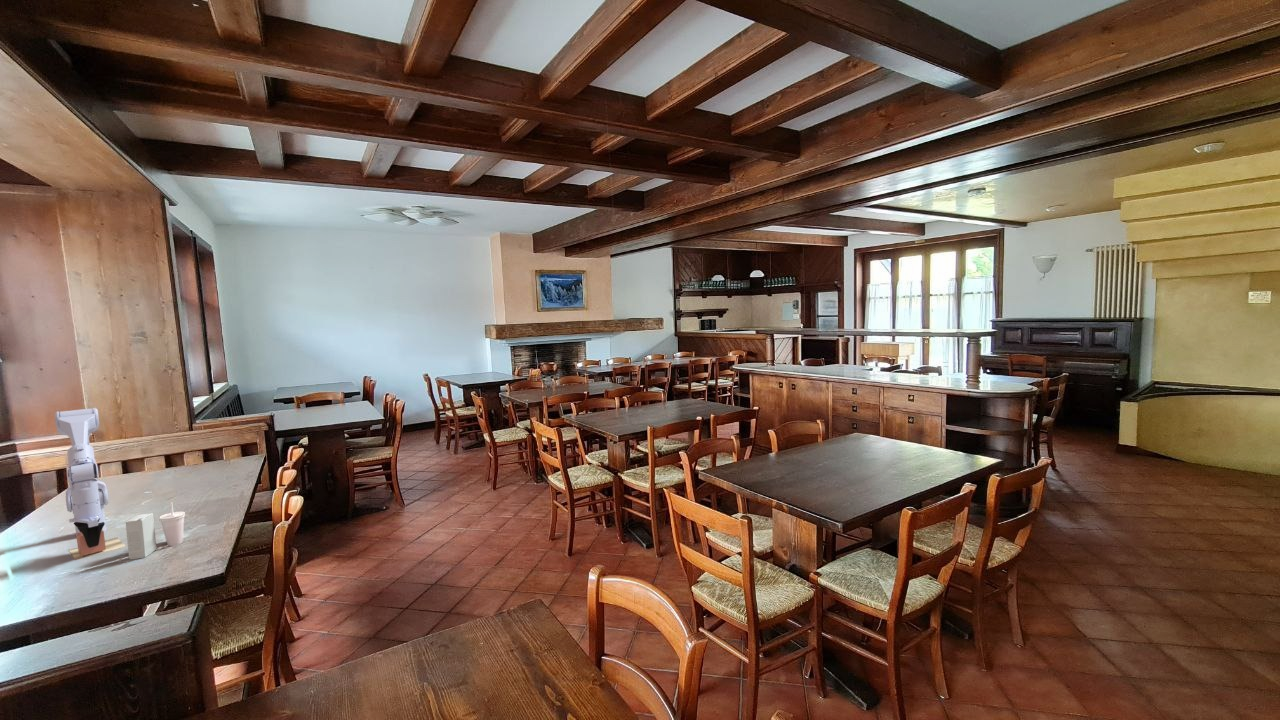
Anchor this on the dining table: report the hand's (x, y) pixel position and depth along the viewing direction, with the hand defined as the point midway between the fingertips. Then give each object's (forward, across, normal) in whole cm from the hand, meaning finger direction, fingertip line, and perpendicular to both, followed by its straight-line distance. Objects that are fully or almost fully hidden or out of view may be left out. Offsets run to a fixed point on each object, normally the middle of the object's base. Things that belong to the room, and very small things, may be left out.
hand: (91, 544), depth 162 cm
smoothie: (+4, +12, +17) cm, 21 cm away
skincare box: (+4, +14, +9) cm, 17 cm away
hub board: (+3, -3, +2) cm, 5 cm away
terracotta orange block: (+2, 0, 0) cm, 2 cm away
